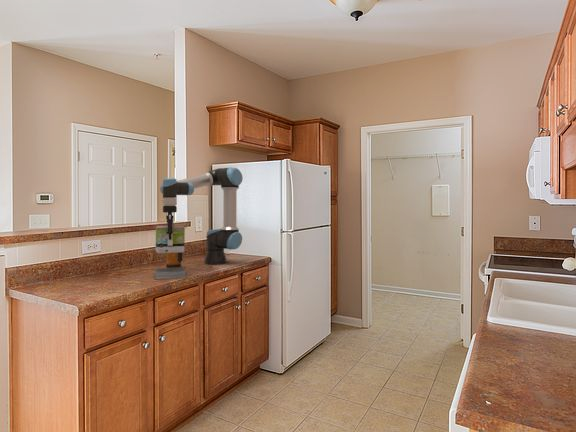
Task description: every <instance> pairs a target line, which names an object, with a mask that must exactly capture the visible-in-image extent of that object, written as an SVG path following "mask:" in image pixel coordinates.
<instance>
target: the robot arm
mask: <svg viewBox="0 0 576 432" xmlns="http://www.w3.org/2000/svg"><path fill="white" fill-rule="evenodd" d="M242 182H243V174H242V171H240V169H239V168H238V167H219V168H216V169H212V170H209V171H205V172H204V173H203V174H200V175H196V176H192V177H188V178H184V179H183V178H182V179H178V180H177V178H173V177H164V178H163V179H162V184H161V185H160V188H159V189H160V193H161V194H162V199H161V202H162V213H167V215H166V224H167V226H168V232H166V234H168V246H171V245H173V234H172V233H173V231H172V226H173V224H174V215H173V213H177V211H178V208H177V204H178V203H177V202H178V201H177V199H178V198H177V196H192V195H193V194H194V192H195V189H198V188H202V187H213V186H220V188H221V190H222V191H223V196H222V197H223V199H222V200H223V213H222V214H223V221H222V222H223V226H222V227H221V228H217V229H209V230H207V231H206V254H205V257H204V259H203V260H204V262H203V263H204V264H206V265H222V264H227V261H228V260H227V256H226V253H225V249H226V250H230V251H231V250H237V249H238V248H240V246H241V245H242V243H243V235H242V233H241V232H240V231H239V230H240V229H239V228H238V226H237V191H238V190H239V189H240V185H241V184H242Z"/></svg>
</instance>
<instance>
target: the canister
mask: <svg viewBox="0 0 576 432" xmlns="http://www.w3.org/2000/svg"><path fill="white" fill-rule="evenodd" d="M165 254H166V256H165V257H166V268H174V267H182V261H183V252H176V253H165Z"/></svg>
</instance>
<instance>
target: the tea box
mask: <svg viewBox="0 0 576 432" xmlns="http://www.w3.org/2000/svg"><path fill="white" fill-rule="evenodd" d="M185 230H186V229H185V226H183V225H172V231H173V233H172V234H173V245H171V246H168V234H166V232H168V225H156V226H155V252H156V253H157V254H166V253H176V252H182V253H185V248H186V246H185V242H186V241H185V235H186V233H185Z"/></svg>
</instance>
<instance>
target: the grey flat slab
mask: <svg viewBox="0 0 576 432" xmlns="http://www.w3.org/2000/svg"><path fill="white" fill-rule="evenodd" d="M184 278H185V279H187V271H186V268H185V266H180V267H174V268H169V267H156V268H155V272H154V280H166V279H168V280H169V279H170V280H171V279H184Z"/></svg>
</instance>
